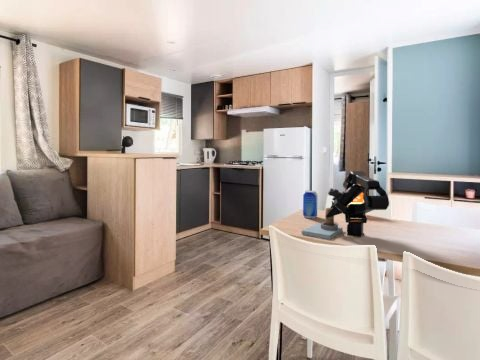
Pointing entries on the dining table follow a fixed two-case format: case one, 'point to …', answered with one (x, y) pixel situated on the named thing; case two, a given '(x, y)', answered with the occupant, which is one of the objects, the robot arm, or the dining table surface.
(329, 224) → the walnut peg
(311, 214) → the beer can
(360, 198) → the orange juice
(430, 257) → the dining table surface
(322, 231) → the slate board
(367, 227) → the dining table surface
